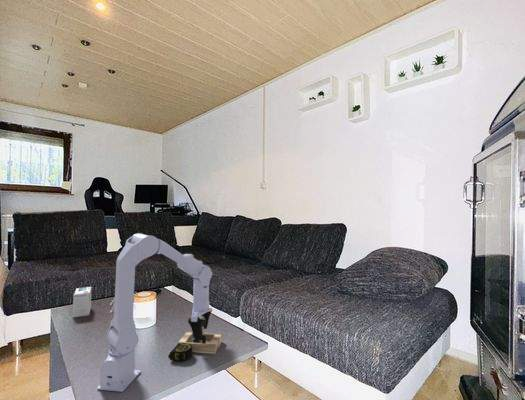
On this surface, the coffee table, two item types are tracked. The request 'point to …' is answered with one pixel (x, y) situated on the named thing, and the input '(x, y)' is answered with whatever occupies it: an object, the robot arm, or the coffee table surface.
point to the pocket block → (208, 347)
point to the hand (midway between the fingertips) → (200, 333)
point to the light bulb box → (82, 302)
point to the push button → (202, 337)
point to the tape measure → (181, 352)
